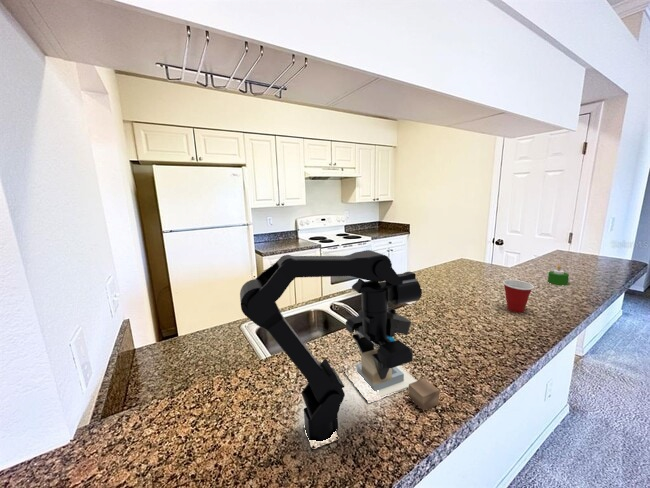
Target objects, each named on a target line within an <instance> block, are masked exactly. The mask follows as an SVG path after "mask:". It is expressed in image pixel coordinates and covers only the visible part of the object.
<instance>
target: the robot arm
mask: <svg viewBox="0 0 650 488" xmlns="http://www.w3.org/2000/svg"><path fill="white" fill-rule="evenodd" d="M327 277H333V278H334V277H352V278H357V279H358V280H356V282H355V283H353V285H351V289H352V290H354V291H355V292H356V293H358V294H360V295H361V309H360V310H358V315H357V316H353V317H348V319H347V320H346V321H345V330H346V331H347V332H348V333H349V334H352V339H353V340H354V342H355V343H356V346H357V347H358V349H359V351H360V352H361V353H364V352H368V351H371V350H374V349H375V346H376V347H377V346H379V347H378V348H379V349H378V348H377V349H378V350H377V353H376V354H373V355H372V357H373V360H374V362H375V365H376V368H377V371H378V374H379V376H380V378H381V379H385V378H386V376H387V373H388V371H389V368H394V367H397V366H402V365H406V364H409V363H412V362H413V361H414V360H413V359H414V354H413V353H414V350H412V348H410V347H409V346H408V345H406V344H405V343H404V342H402V341H401V340H399V339H397V340H395V341H393V342H391V341H390V340H388V339H387V337H388V336H390V337H392V338H394V337H395V336H396V334H402V335H404V336H408V335H409V332H410V329H411V325H412V321H411V320H410V319H408V318H407V317H404V316H402V315H401V314H398V313H397V312H396V309H395V308H392V307H389V302H390V303H391V304H392V305H394V306H395V305H396V306H397V305H403V304H407V303H412V302H417V301H419V300H421V298H422V295H423V289H422V287H421V285H420V283H419V281H418V279H417V278H416V277H417V275H416V273H415V272H413V271H406V272H403V273H397V272H396V270H395V269H394V268H393V263H392V261H391V259H390V258H389V256H388V255H385V254H383V253H380V252H376V251H373V250H372V249H371V250H370V249H369V250H362V251H361V250H360V251H356V252H353V253H351V254H347V255H290V254H283V255H282V256H281V257H280V258H278V260H277V261H276V262H275V263H273V264H271V265H270V266H269V267H268V268H266V269H265V270H263V271H262V272H261V273H260V274H259V275H258V276H257V277H255V278H254V279H250V280H248V281H246V282H245V283H244V284H243V285H242V286H241V288H240V292H239V299H240V301H239V302H240V309H241V312H242V313H243V314H244V315H245V317H246V318H248V319H249V320H250V321H251V322H253V324H255V326H258V327H259V328H261V329H264V330H265V331H267V332H268V333H269V334H270V335H271V336H272V338H273V339H274V341H275V342H276V343H277V344H278V345H279V347H280V348H281V349H282V351H283V352H284V353H285V355H286V356H287V357H288V358H289V359H290V360H291V362H292V363H293V364H294V365H295V367H296V368H297V369H298V371H300V373H301V374H302V375H303V377H304V379H306V381H307V384H306V386H305V387H304V388H303V389H302V391H301V396H302V399H303V402H304V404H305V407H303V416H304V417H303V419H304V425H305V430H306V433H307V436H308V438H309V440H316V441H323V440H326V439H328V438H330V437H331V435H332V434H333V432H335V431H337V430H336V429H338V430H339V421H338V420H339V417H338V415H339V411H340V408H341V405H342V403H343V401H344V399H345V397H346V395H345V391H344V388H345V384H344V383H343V381H342V380H341V378H340V376H339V375H338V373H337V371H336V370H335V368H334V367H332V366H331V365H330V363H329V361H328V360H327V358H324V359H323V361H319V360H317V359H316V357H315V356H314V354H312V352H311V351H310V350H309V348H308V347H307V346H306V344H305V343H304V342H303V339H301V338H300V336H299V335H298V334H297V332H296V331H295V329H293V327H292V326H291V324H289V322H288V320H287V319H286V318H285V317H284V316H283V314H282V312H281V310H280V309H279V306H278V304H277V301H278V300H279V299H280V298H281V297H282V296H283V294H284V292H285V291H286V290H287V288H288V287H289V286H290V285H291V283H292V281H294V280H295V279H297V278H327ZM364 280H365V281H364ZM353 333H354V334H353ZM361 353H360V354H361Z"/></svg>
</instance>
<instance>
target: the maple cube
mask: <svg viewBox="0 0 650 488" xmlns="http://www.w3.org/2000/svg"><path fill="white" fill-rule="evenodd" d="M378 349H379V347H378V348H374V350H371V351H368V352H364V353H360V360H361V362H360V363H361V367H362V374H363V375H364V376H365V377H366V378H367V379H368V381H369V382H370V383H371V384H372V385H373V386H374V385H377V384H380V383H383V382H385V381H388V380H391V379H392V368H389V371H388V373H387V376H386V378H385V379H381V378H380V376H379V374H378V371H377V368H376V365H375V362H374V360H373V357H372V355H373V354H376V353H377V350H378Z"/></svg>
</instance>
